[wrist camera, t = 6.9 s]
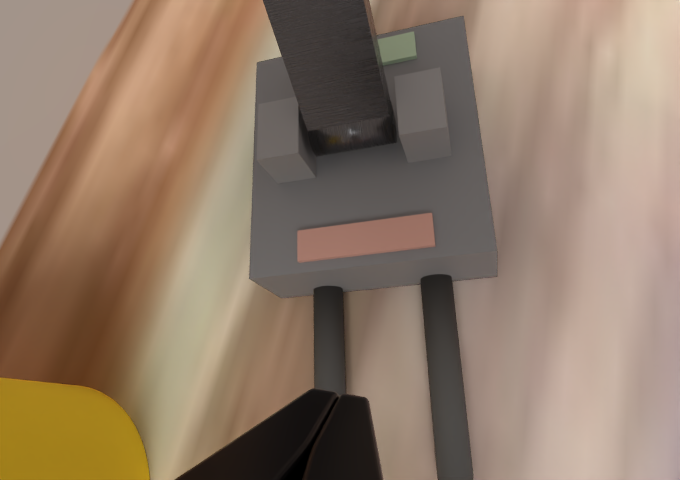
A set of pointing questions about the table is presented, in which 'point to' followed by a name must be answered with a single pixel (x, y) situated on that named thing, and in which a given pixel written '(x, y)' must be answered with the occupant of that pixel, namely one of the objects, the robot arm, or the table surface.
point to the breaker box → (375, 180)
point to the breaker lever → (335, 72)
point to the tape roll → (66, 434)
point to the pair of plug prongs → (441, 367)
